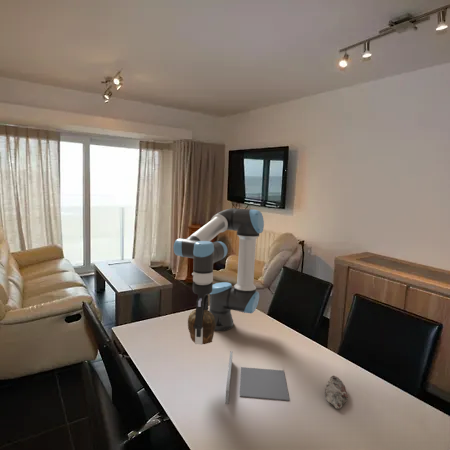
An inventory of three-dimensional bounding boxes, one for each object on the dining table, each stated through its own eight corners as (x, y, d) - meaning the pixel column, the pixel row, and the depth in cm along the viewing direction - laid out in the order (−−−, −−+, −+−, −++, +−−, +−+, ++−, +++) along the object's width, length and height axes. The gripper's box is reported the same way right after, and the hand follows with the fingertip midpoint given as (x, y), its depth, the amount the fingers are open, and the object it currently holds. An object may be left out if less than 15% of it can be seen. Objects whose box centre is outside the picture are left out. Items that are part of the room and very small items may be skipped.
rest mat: (240, 367, 132) (240, 367, 132) (283, 371, 130) (283, 370, 130) (239, 396, 114) (239, 395, 114) (289, 400, 113) (289, 399, 113)
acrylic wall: (229, 362, 136) (230, 351, 135) (232, 362, 136) (232, 351, 135) (225, 403, 110) (225, 390, 109) (228, 403, 110) (228, 390, 109)
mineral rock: (342, 414, 107) (344, 402, 107) (319, 404, 112) (320, 393, 111) (351, 391, 120) (352, 380, 119) (330, 383, 124) (331, 373, 123)
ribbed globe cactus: (181, 342, 119) (181, 312, 118) (197, 330, 129) (198, 303, 127) (205, 350, 114) (206, 319, 112) (220, 337, 124) (221, 309, 122)
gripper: (198, 272, 130) (197, 322, 133) (186, 291, 107) (185, 351, 110) (216, 273, 130) (214, 323, 133) (208, 293, 106) (206, 353, 109)
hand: (201, 336), depth 121 cm, fingers closed on ribbed globe cactus, 11 cm apart
